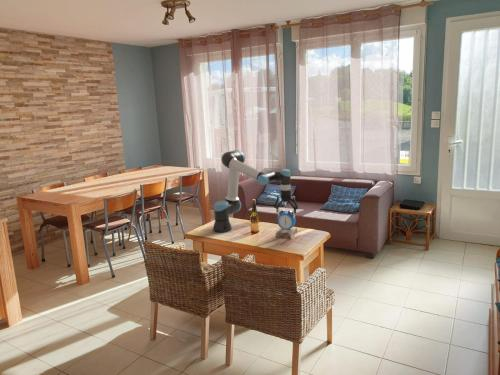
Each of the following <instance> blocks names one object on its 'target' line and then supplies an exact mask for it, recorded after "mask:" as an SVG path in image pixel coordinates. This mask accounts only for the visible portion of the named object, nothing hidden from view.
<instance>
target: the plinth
mask: <svg viewBox="0 0 500 375" xmlns="http://www.w3.org/2000/svg"><path fill="white" fill-rule="evenodd" d="M279 228H280V227H279ZM297 233H298V227H295V228H294V229H293V228H291V229H290V230H283V229H282V228H280V229H278V231H276V233H275V239H282V240H283V239H285V240H293V238H294V237H295V235H297Z"/></svg>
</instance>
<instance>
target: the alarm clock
mask: <svg viewBox="0 0 500 375" xmlns="http://www.w3.org/2000/svg"><path fill="white" fill-rule="evenodd" d="M279 214H280V216H279V217H278V216H277V225H278V227H279V228H282V229H283V230H290V229H293V228H294V226H295V225H296V222H297V221H296V220H297V219H296V217H295V218H293V210H288V211H285V209H282V210H281V209H280V213H279Z"/></svg>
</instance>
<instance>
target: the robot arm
mask: <svg viewBox="0 0 500 375" xmlns="http://www.w3.org/2000/svg"><path fill="white" fill-rule="evenodd" d="M220 160H221V164H222V165H223V166H224V167H226V168H228V183H227V194H226V196H225V198H224V199H225V200H218V201H216V202H215V203H214V204H213V210H214V212H213V213H214V223H213V226H212V230H213V232H215V233H227V232H230V231H232V227H233V226H232V224H231V222H230V215H233V214H237V212H239V211H240V210H241V209H242V203H241V200H240V197H239V182H240V180H239V179H240V174H243V175H245V176H247V177H249V178H250V179H253V180H255V181H257V183H258V184H259V185H261V186H263V185H268V184H271V183H273V182H280V195H277V196H276V201H275V204H274V206H273V208H275V210H276V211H275V212H276V214H277V218H278V217H279V216H280V215H281V214H279V213H280V211H281V209H280V206H281V205H282V203H283V202H284V203H286V202H287V203H288V204H290V206H291V207H292V208H293V209H292V212H293V218H295V219H296V214H297V210H298V209H299V205H298V203H297V200H296V196H295V195H293V196H292V195H291V194H292V193H291V189H292V188H291V187H292V186H291V169H288V168H283V169H280V171H276V170H275V171H273V170H268V171H267V172H266V173H265V172H263V171H261V170H259V169H257V168H255V167H253V166H250V165H248V164H246V163H245V160H246V156H245V154H244V152H243V151H242V150H239V149H238V150H236V149H235V150H231V151H226V152H224V153H223V155H222V156H221V159H220ZM280 199H281V200H280ZM291 199H292V200H291ZM279 200H280V202H279Z"/></svg>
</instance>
